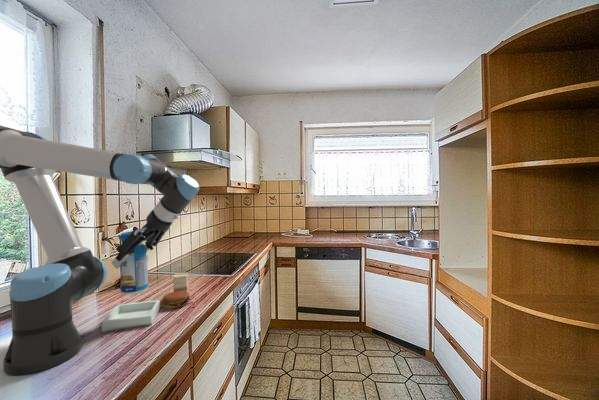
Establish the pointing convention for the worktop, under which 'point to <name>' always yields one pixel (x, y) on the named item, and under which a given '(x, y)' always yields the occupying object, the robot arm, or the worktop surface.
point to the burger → (175, 299)
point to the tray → (131, 315)
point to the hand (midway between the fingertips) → (125, 262)
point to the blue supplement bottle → (134, 269)
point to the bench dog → (180, 282)
